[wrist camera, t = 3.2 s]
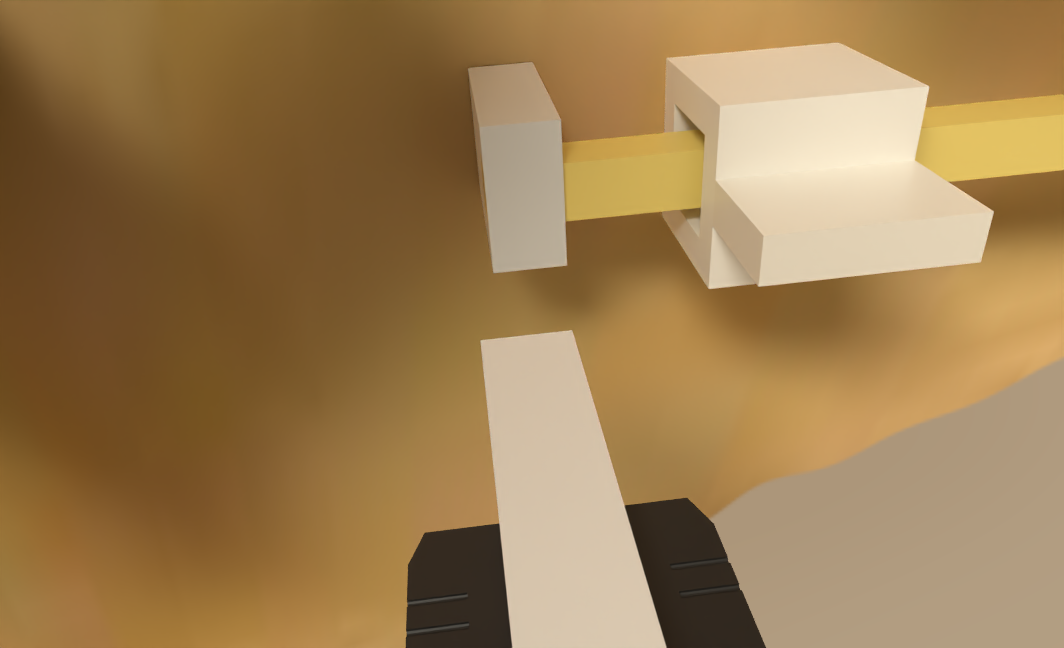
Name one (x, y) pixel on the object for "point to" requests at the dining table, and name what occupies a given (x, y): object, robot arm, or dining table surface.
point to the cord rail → (684, 161)
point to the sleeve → (812, 170)
